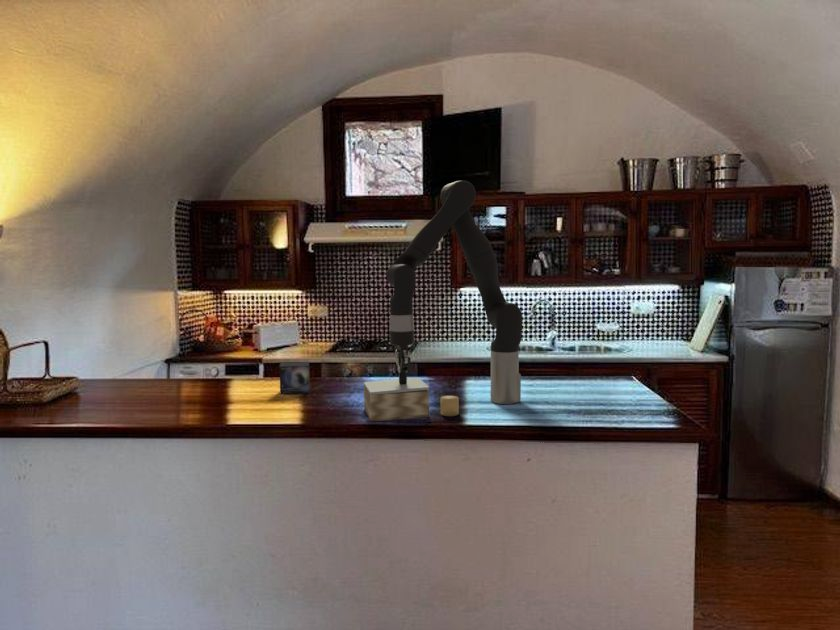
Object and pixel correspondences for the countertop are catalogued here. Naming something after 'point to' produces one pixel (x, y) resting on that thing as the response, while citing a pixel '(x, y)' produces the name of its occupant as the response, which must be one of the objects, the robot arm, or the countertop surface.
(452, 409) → the tan rounded piece
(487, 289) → the robot arm
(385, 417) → the crate
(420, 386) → the lid
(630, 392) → the countertop surface
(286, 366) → the small box
